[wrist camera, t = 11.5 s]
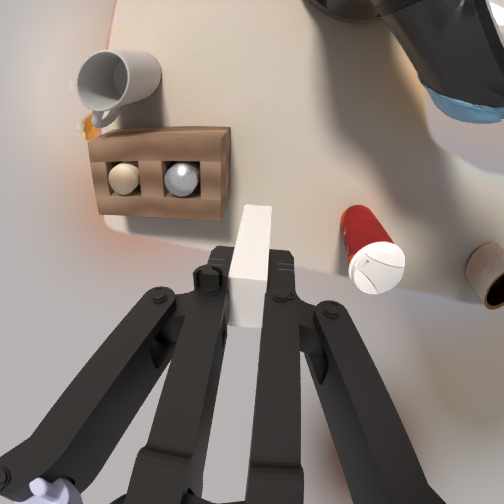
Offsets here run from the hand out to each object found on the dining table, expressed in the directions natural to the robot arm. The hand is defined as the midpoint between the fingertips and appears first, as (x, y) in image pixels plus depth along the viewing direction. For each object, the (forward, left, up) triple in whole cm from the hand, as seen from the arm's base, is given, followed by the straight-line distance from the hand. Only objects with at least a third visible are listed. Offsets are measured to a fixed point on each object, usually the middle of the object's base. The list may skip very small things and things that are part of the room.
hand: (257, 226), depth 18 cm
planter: (+20, +49, -31) cm, 61 cm away
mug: (-7, -22, -31) cm, 38 cm away
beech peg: (+6, -20, -30) cm, 37 cm away
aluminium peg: (+6, -12, -30) cm, 33 cm away
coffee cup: (+14, +16, -31) cm, 37 cm away
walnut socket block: (+6, -16, -30) cm, 35 cm away
